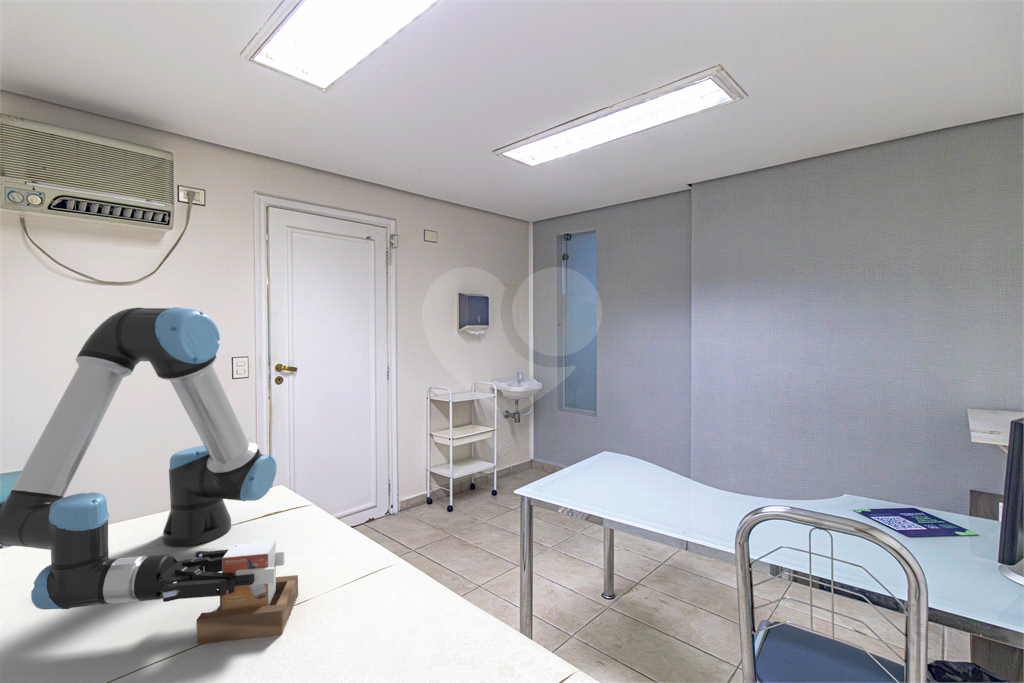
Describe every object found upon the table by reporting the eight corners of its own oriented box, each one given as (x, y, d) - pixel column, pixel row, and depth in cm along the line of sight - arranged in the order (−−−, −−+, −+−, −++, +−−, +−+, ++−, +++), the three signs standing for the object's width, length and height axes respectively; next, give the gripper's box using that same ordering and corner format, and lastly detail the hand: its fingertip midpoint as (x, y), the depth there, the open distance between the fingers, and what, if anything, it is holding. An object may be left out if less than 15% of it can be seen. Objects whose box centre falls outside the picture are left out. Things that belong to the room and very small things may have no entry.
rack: (224, 603, 94) (223, 582, 94) (298, 595, 97) (297, 575, 97) (197, 644, 82) (196, 620, 82) (282, 634, 85) (281, 610, 85)
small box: (221, 613, 86) (220, 558, 85) (232, 596, 91) (231, 543, 91) (269, 608, 87) (268, 553, 87) (276, 591, 93) (276, 539, 92)
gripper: (170, 571, 95) (292, 560, 99) (111, 631, 76) (264, 614, 81) (169, 535, 94) (291, 526, 99) (110, 586, 76) (263, 572, 81)
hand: (279, 566), depth 90 cm, fingers closed on small box, 6 cm apart
